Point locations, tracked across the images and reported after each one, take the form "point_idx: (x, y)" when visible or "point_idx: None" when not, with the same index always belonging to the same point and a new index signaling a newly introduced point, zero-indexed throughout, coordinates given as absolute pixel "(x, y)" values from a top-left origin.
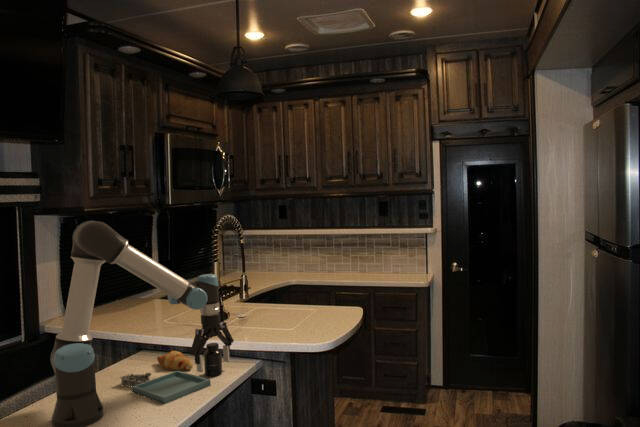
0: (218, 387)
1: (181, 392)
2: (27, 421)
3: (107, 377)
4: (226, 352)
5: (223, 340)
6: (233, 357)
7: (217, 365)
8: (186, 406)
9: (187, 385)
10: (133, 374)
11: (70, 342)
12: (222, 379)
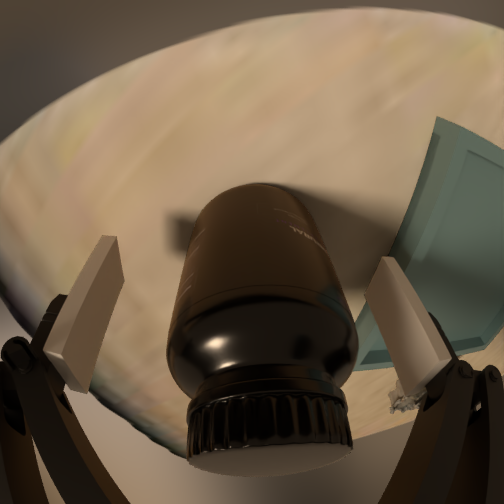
0: (445, 51)
1: None
2: None
3: (370, 426)
4: (90, 310)
5: (81, 448)
6: (29, 310)
7: (285, 224)
8: None
9: (473, 227)
10: (394, 409)
11: None
12: (321, 102)
